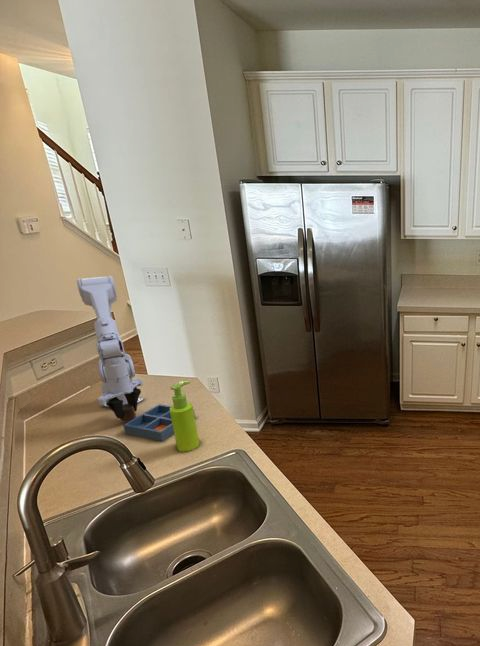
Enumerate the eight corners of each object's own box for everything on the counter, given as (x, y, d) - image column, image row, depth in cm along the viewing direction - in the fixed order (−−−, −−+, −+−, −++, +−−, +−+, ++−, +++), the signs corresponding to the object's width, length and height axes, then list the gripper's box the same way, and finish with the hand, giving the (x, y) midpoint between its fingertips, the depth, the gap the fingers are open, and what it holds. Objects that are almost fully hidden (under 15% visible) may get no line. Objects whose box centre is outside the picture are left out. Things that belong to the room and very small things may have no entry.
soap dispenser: (206, 440, 130) (195, 381, 123) (188, 453, 124) (176, 391, 117) (190, 436, 132) (179, 377, 125) (172, 449, 126) (159, 388, 119)
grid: (125, 433, 133) (123, 425, 132) (160, 411, 145) (159, 403, 144) (162, 441, 129) (160, 432, 128) (195, 418, 142) (193, 410, 141)
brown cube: (116, 420, 138) (113, 409, 136) (128, 413, 142) (125, 402, 140) (127, 422, 137) (125, 411, 135) (139, 415, 141) (136, 404, 139)
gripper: (106, 388, 126) (117, 427, 131) (146, 368, 139) (155, 405, 144) (88, 384, 128) (99, 424, 133) (129, 365, 141) (138, 402, 146)
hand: (127, 414), depth 139 cm, fingers closed on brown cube, 4 cm apart
